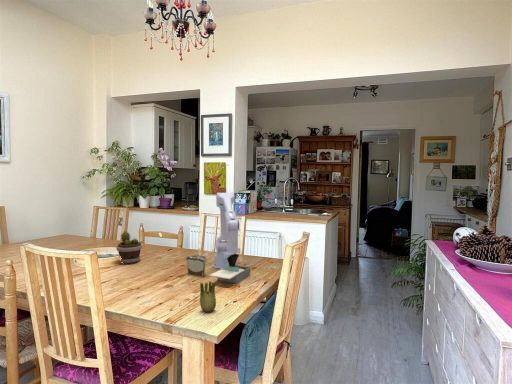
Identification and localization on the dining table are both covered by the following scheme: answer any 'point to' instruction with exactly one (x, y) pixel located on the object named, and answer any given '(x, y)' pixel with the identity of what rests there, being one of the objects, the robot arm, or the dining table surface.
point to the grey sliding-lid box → (238, 277)
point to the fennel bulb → (207, 297)
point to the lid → (227, 272)
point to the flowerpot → (129, 249)
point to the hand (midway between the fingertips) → (232, 268)
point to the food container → (196, 265)
